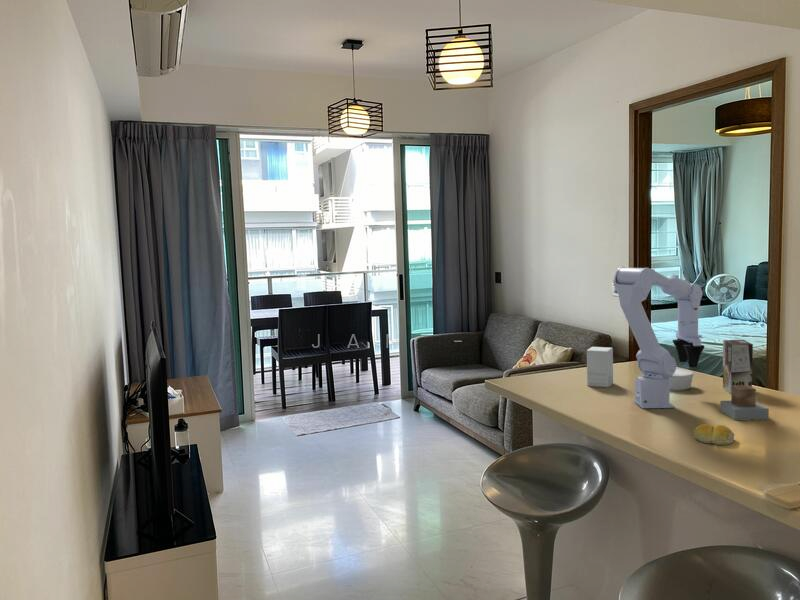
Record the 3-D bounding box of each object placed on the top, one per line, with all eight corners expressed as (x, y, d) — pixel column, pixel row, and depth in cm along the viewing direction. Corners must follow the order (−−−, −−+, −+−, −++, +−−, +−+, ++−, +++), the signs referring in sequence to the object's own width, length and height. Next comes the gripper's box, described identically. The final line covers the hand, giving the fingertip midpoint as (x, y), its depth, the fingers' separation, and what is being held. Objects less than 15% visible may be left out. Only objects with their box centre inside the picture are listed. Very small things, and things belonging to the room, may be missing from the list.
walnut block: (738, 407, 176) (739, 389, 176) (731, 402, 181) (731, 385, 180) (755, 406, 176) (755, 389, 176) (747, 402, 181) (748, 385, 180)
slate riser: (734, 420, 175) (734, 409, 174) (720, 410, 184) (720, 400, 183) (768, 419, 174) (768, 408, 174) (752, 410, 183) (752, 400, 183)
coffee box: (752, 395, 199) (753, 344, 197) (730, 394, 200) (731, 344, 198) (743, 387, 208) (744, 339, 206) (721, 387, 209) (722, 339, 207)
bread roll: (698, 433, 166) (698, 418, 165) (736, 439, 160) (736, 423, 160) (689, 441, 159) (690, 426, 159) (729, 448, 154) (729, 432, 153)
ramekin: (653, 389, 210) (653, 373, 210) (660, 382, 220) (660, 367, 219) (690, 393, 204) (690, 377, 204) (695, 385, 214) (695, 370, 213)
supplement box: (613, 383, 220) (613, 347, 219) (608, 388, 214) (608, 351, 213) (592, 381, 224) (592, 346, 223) (586, 385, 218) (586, 349, 217)
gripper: (711, 324, 189) (711, 369, 191) (691, 317, 204) (691, 359, 205) (687, 325, 190) (687, 370, 191) (669, 318, 204) (669, 359, 206)
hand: (688, 364), depth 198 cm, fingers open, 7 cm apart
